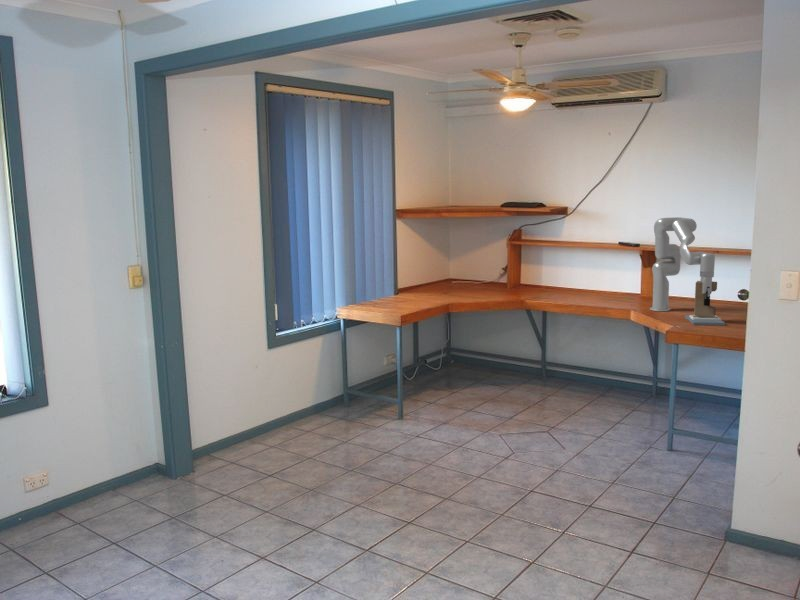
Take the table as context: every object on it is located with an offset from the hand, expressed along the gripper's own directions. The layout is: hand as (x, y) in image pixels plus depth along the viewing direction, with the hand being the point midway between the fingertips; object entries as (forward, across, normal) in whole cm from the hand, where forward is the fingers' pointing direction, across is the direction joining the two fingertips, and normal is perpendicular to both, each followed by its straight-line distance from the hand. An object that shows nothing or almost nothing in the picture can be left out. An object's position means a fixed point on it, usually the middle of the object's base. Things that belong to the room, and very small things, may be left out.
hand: (705, 304), depth 401 cm
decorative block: (+7, 0, 0) cm, 7 cm away
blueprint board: (+10, +1, 0) cm, 10 cm away
